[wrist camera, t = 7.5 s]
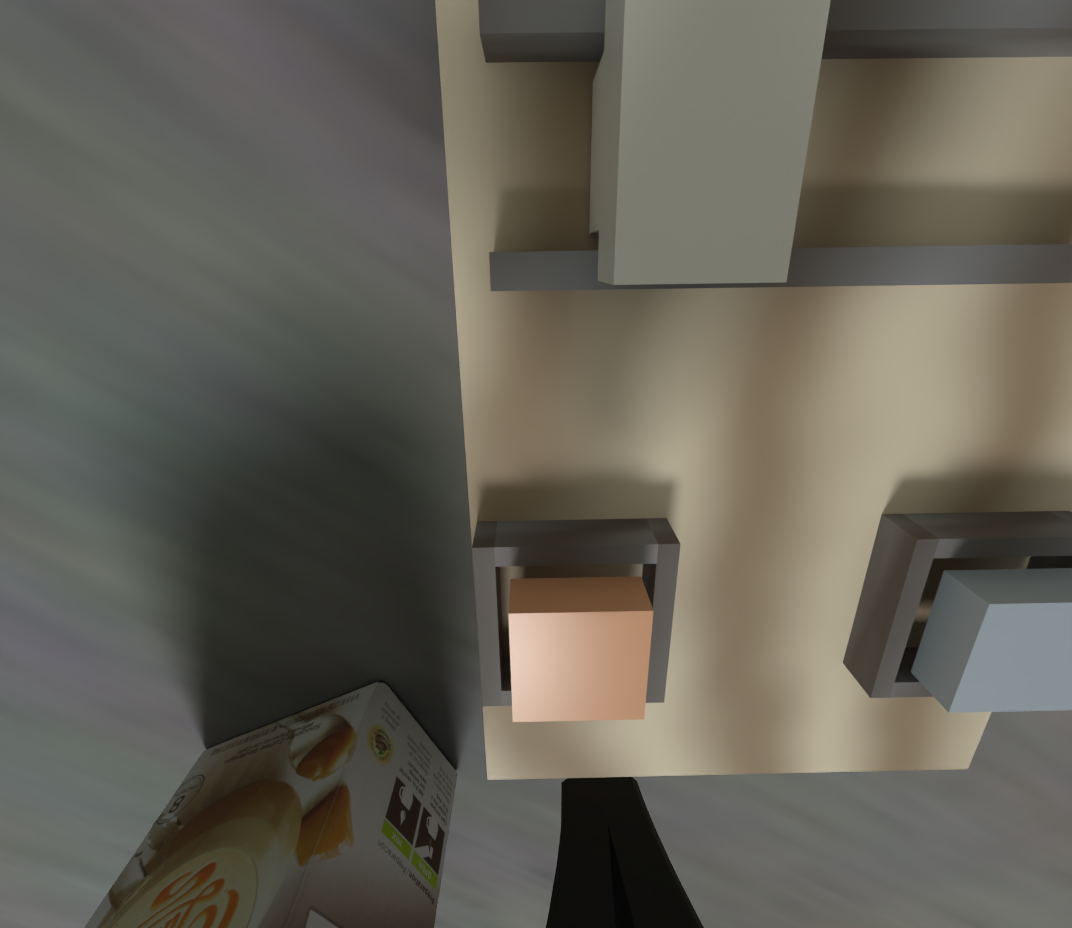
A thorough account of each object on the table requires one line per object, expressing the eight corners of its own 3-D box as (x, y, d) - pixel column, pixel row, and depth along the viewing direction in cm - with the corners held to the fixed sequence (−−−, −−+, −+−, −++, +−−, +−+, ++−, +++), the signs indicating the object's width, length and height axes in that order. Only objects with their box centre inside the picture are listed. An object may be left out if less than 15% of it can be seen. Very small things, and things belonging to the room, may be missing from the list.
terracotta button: (640, 576, 14) (653, 610, 13) (633, 677, 15) (644, 719, 14) (510, 578, 14) (508, 613, 13) (514, 680, 15) (512, 721, 14)
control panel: (1172, -11, 13) (1439, -124, 9) (920, 714, 22) (1002, 808, 18) (448, -4, 13) (415, -117, 9) (491, 723, 21) (484, 820, 18)
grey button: (1072, 568, 14) (1132, 601, 13) (1028, 669, 16) (1078, 710, 14) (944, 570, 14) (989, 604, 13) (910, 672, 15) (948, 712, 14)
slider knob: (736, 23, 11) (846, -103, 7) (709, 276, 13) (786, 282, 9) (594, 24, 11) (629, -102, 7) (588, 278, 13) (613, 285, 9)
